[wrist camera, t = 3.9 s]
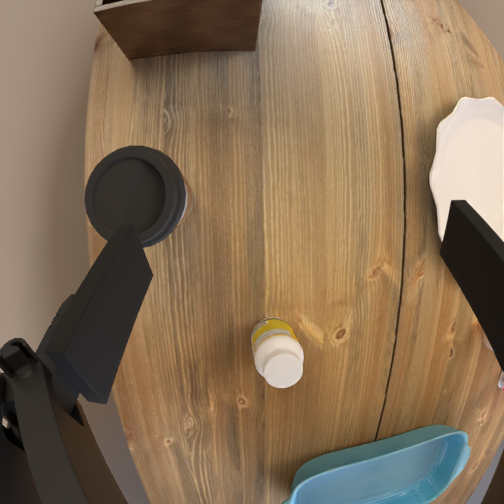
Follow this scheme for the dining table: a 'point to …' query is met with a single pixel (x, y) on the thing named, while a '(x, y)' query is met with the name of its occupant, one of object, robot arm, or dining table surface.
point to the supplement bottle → (277, 352)
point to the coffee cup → (138, 194)
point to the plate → (470, 162)
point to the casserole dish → (385, 470)
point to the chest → (180, 25)
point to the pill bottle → (501, 381)
